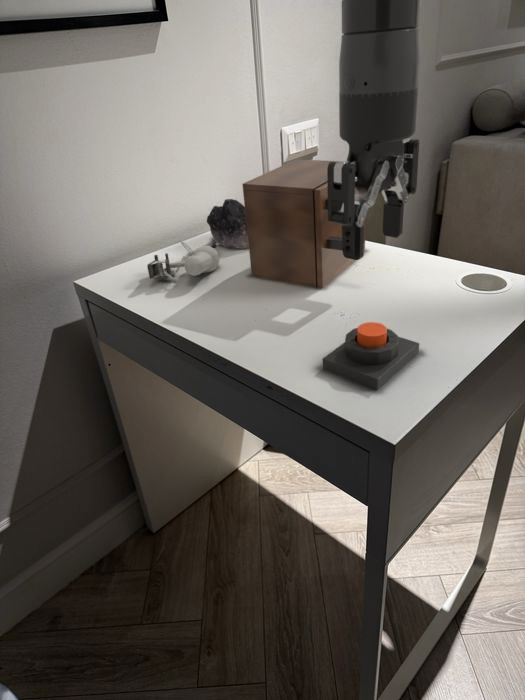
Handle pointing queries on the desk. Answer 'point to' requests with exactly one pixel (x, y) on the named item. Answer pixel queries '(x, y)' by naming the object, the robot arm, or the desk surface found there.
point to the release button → (371, 334)
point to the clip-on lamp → (187, 262)
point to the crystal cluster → (229, 224)
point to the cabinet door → (329, 239)
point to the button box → (370, 359)
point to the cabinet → (284, 221)
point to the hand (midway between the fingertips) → (373, 246)
